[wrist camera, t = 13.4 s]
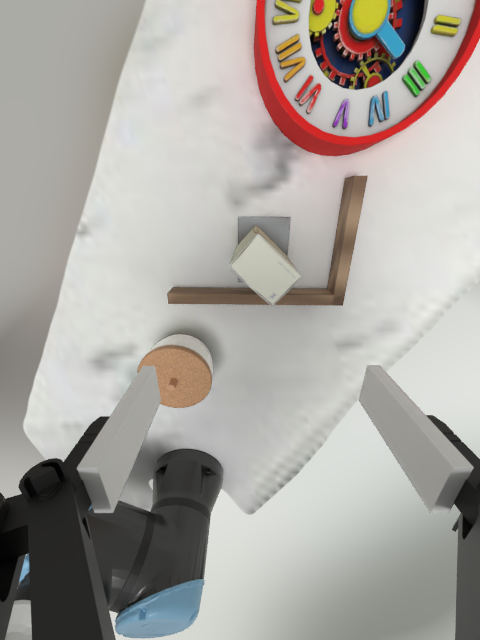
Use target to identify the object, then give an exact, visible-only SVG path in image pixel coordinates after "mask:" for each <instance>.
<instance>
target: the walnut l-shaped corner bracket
mask: <svg viewBox="0 0 480 640" xmlns="http://www.w3.org/2000/svg"><path fill="white" fill-rule="evenodd" d="M366 182H367V176H352V177H349V178H345V181H344V187H343V194H342V200H341V206H340V212H339V219H338V225H337V231H336V237H335V244H334V250H333V256H332V263H331V269H330V275H329V281H328V288H327V289H292V288H291V289H290V290H289V291H288V292H287V293H286V294H285V295H284V296H283V297H282V298H281V299H280V300H278V302H276V303H275V304H274V305H343V301H344V296H345V291H346V286H347V280H348V275H349V270H350V265H351V260H352V254H353V249H354V244H355V239H356V234H357V228H358V223H359V218H360V213H361V208H362V202H363V197H364V192H365V187H366ZM256 225H257V226H258V227H259V228H260V229H261V230H262V231H263V232H264V233H265V234H266V235H267V236H268V237H269V238H270V239H271V240H272V241H273V242H274V243H275V244H276V245H277V246H278V247H279V248H280V249H281V250H282V251H283V252H284V254H285V255H286V256H287V254H288V241H289V229H290V217H238V245H239V243H240V242H241V241H242V240H243V239H244V238H245V237H246V235H247V234H248V233H249V232H250V231H251V230H252V229H253V228H254V227H255V226H256ZM238 282H243V281H242V280H241V279H240V278H239V277H238ZM167 296H168V304H253V305H270V304H269V303H267V302H266V301H265V300H264V299H263V298H261V297H260V296H259V295H258V294H257V293H256V292H255V291H253V290H252V289H251V288H179V287H173V288H172V289H171V290H170V291H169V292H168V293H167Z"/></svg>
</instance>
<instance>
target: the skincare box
mask: <svg viewBox="0 0 480 640" xmlns="http://www.w3.org/2000/svg"><path fill="white" fill-rule="evenodd" d="M229 268H230V269H231V270H232V271H233V272H234V273H235V274H236V275H237V276H238V277H239V278H240V279H241V280H242V281H243V282H244V283H246V284H247V285H248V286H249V287H250V288H251V289H252V290H253V291H255V292H256V293H257V294H258V295H259V296H260V297H261V298H263V299H264V300H265V301H266V302H267V303H269V304H270V305H271V306H273V305H274V304H275V303H276V302H278V300H280V299H281V298H282V297H283V296H284V295H285V294H286V293H287V292H288V291H289V290H290V289H291V288H292V287H293V286H294V285H295V284H296V283H297V282H298V281H299V280H300V279H301V275H300V274H299V273H298V271H297V270H296V269H295V267H294V266H293V264H292V263H291V262H290V260H289V259H288V257H287V256H286V255H285V254H284V252H283V251H282V250H281V249H280V248H279V247H278V246H277V245H276V244H275V243H274V242H273V241H272V240H271V239H270V238H269V237H268V236H267V235H266V234H265V233H264V232H263V231H262V230H261V229H260V228H259V227H258V226H257V225H256V226H255V227H254V228H253V229H252V230H251V231H250V232H249V233H248V234H247V235H246V237H245V238H244V239H243V240H242V241H241V242H240V243H239V245H238V246H237V247H236V249H235V252H234V254H233V257H232V259H231V262H230V264H229Z"/></svg>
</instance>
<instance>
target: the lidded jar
mask: <svg viewBox="0 0 480 640" xmlns="http://www.w3.org/2000/svg"><path fill="white" fill-rule="evenodd" d="M142 366H155V369H156V374H157V380H158V386H159V392H160V398H161V402H160V404H162V405H165V406H168V407H174V408H184V407H189V406H192V405H195V404H197V403H199V402H200V401H202V400H203V399H204V398H205V397H206V396H207V394H208V393H209V391H210V389H211V384H212V374H213V363H212V358H211V355H210V352H209V350H208V349H207V347H206V346H205V345H204V344H203V343H202V342H201V341H200V340H198V339H197V338H195V337H192V336H189V335H184V334H176V335H171V336H168V337H166V338H164V339H162V340H160V341H159V342H158V343H157V344H155V345H154V346H153V347H152V348H151V350H150V351H149V352H148V354H146V355H145V357H144V358H143V359H142V361H141V363H140V365H139V367H138V373H139V371H140V369H141V368H142Z"/></svg>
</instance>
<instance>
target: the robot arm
mask: <svg viewBox="0 0 480 640" xmlns="http://www.w3.org/2000/svg"><path fill="white" fill-rule="evenodd" d="M160 402H161V398H160V392H159V386H158V380H157V374H156V369H155V366H142V368H141V369H140V371H139V373H138V374H137V376H136V377H135V379H134V380H133V382H132V383H131V385H130V386H129V388H128V390H127V391H126V393H125V394H124V396H123V397H122V399H121V400H120V402H119V403H118V405H117V406H116V408H115V410H114V411H113V413H112V414H111V416H110V417H99V418H98V419H97V420H95V421H94V422H93V423H92V424H91V425H90V426H89V427H88V429H87V430H86V431H85V433H84V435H83V436H82V437H81V438H80V440H79V441H78V444H76V445H75V447H74V448H73V450H72V451H71V452H70V454H69V455H68V457H67V458H66V459H65V461H64V462H63V461H62V460H60V459H57V458H55V459H48V460H45V461H43V462H40V463H39V464H37V465H35V466H34V467H32V468H31V469H30V470H29V471H28V472H27V473H25V475H24V476H23V478H22V479H21V481H20V484H19V489H20V491H21V492H22V494H20V495H17V496H13V497H10V498H7V499H5V498H4V496H3V495H2V494H1V493H0V640H115V635H114V631H113V627H112V623H111V618H110V614H109V610H110V611H113V612H116V613H118V615H117V617H116V620H115V622H116V625H115V630H116V632H117V633H118V634H122V635H123V636H125V637H130V638H154V637H162V636H167V635H172V634H175V633H178V632H180V631H183V630H185V629H186V628H188V627H189V626H190V625H191V624H192V623H193V622H194V621H195V619H196V617H197V615H198V612H199V607H200V601H201V595H202V589H203V585H204V572H205V563H206V553H207V544H208V535H209V525H210V516H211V511H212V509H213V507H214V504H215V502H216V499H217V497H218V494H219V492H220V489H221V486H222V480H223V470H222V467H221V465H220V464H219V463H218V461H217V460H216V459H214V458H213V457H211V456H210V455H208V454H206V453H203V452H200V451H196V450H187V449H184V450H176V451H172V452H169V453H167V454H165V455H164V456H163V457H162V458H161V459H160V460H159V461H158V463H157V466H156V469H155V472H154V476H153V505H152V509H151V512H149V511H146V510H144V509H141V508H138V507H135V506H133V505H130V504H127V503H125V502H122V501H119V498H120V496H121V493H122V491H123V489H124V486H125V484H126V482H127V479H128V477H129V475H130V472H131V470H132V468H133V465H134V463H135V460H136V458H137V456H138V453H139V451H140V449H141V446H142V444H143V442H144V439H145V437H146V435H147V432H148V430H149V428H150V425H151V423H152V421H153V418H154V416H155V414H156V411H157V409H158V407H159V404H160ZM359 402H360V403H361V405H362V406H363V408H364V409H365V411H366V412H367V414H368V416H369V417H370V419H371V420H372V422H373V424H374V425H375V427H376V428H377V430H378V431H379V433H380V435H381V436H382V437H383V439H384V441H385V442H386V444H387V446H388V447H389V449H390V450H391V452H392V453H393V455H394V457H395V458H396V460H397V461H398V463H399V464H400V466H401V468H402V469H403V471H404V472H405V474H406V475H407V477H408V478H409V480H410V482H411V483H412V485H413V486H414V488H415V489H416V491H417V493H418V494H419V496H420V497H421V499H422V501H423V502H424V504H425V505H426V507H427V508H428V510H429V511H430V513H449V512H450V510H451V508H452V506H453V505H454V504H455V505H456V506H457V508H458V509H459V510H460V512H461V514H460V516H459V517H458V519H457V521H456V523H455V524H454V526H453V529H452V530H453V531H456V530H457V529H458V558H457V596H456V597H457V598H456V633H455V640H480V459H479V458H478V457H477V456H476V455H475V454H474V453H473V452H472V451H471V450H470V449H469V448H468V447H467V446H466V445H465V444H464V443H463V442H461V440H460V439H459V438H458V437H457V436H456V435H454V433H453V432H452V430H450V429H449V427H448V426H447V425H446V424H445V423H443V422H442V421H440V420H439V419H437V418H436V417H434V416H432V415H425V414H424V413H423V412H422V411H421V410H420V409H419V407H418V406H416V404H415V403H414V402H413V401H412V400H411V399H410V398H409V397H408V396H407V394H406V393H405V392H404V391H403V390H402V389H401V388H400V387H399V386H398V385H397V384H396V383H395V381H394V380H393V379H392V378H391V377H390V376H389V375H388V374H387V373H386V372H385V371H384V370H383V368H382V367H381V366H380V365H367V368H366V373H365V377H364V381H363V385H362V389H361V394H360V398H359ZM26 554H27V555H26ZM25 555H26V557H25ZM17 588H18V589H17Z"/></svg>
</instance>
